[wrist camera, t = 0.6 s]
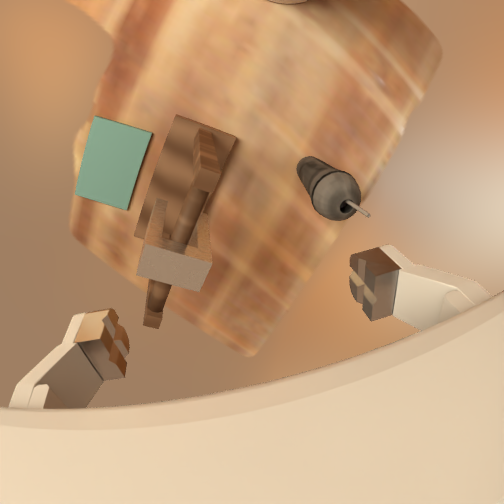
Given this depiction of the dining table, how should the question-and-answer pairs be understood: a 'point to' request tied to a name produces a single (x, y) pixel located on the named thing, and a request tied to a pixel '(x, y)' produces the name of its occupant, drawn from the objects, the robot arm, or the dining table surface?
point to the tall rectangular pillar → (175, 253)
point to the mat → (111, 162)
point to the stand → (182, 191)
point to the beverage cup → (330, 189)
